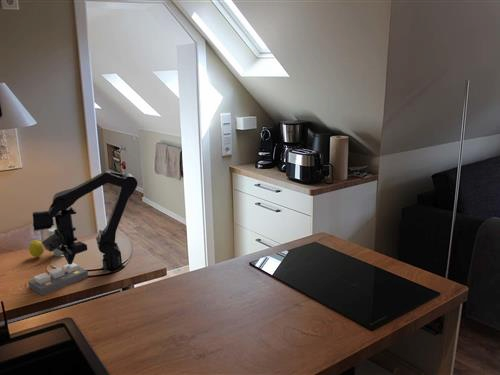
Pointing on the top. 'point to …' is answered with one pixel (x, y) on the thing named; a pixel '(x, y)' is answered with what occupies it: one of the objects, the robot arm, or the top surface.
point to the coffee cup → (50, 233)
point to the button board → (58, 281)
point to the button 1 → (42, 278)
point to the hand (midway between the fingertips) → (70, 264)
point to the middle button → (56, 273)
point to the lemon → (36, 248)
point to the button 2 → (70, 268)
